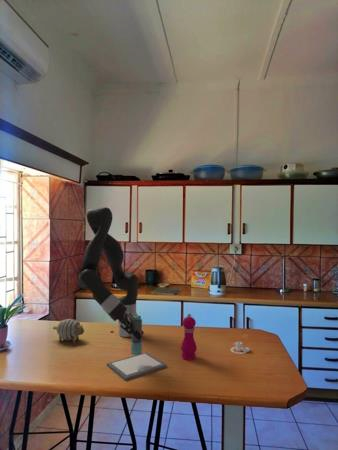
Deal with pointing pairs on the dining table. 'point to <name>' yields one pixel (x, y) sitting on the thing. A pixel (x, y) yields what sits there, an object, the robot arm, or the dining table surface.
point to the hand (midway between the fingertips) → (141, 336)
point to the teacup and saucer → (240, 348)
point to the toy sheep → (69, 330)
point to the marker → (135, 343)
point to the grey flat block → (136, 366)
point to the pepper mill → (188, 339)
